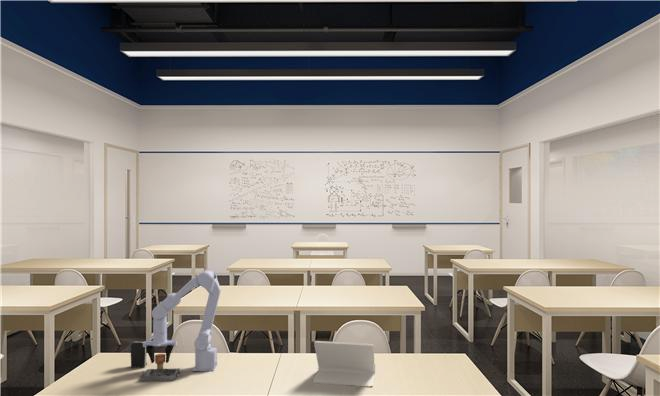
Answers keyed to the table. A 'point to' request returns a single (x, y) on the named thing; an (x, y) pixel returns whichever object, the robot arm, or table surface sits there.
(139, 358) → the battery charger
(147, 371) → the keyhole plate
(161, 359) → the peg
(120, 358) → the table surface
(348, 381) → the tablet stand
